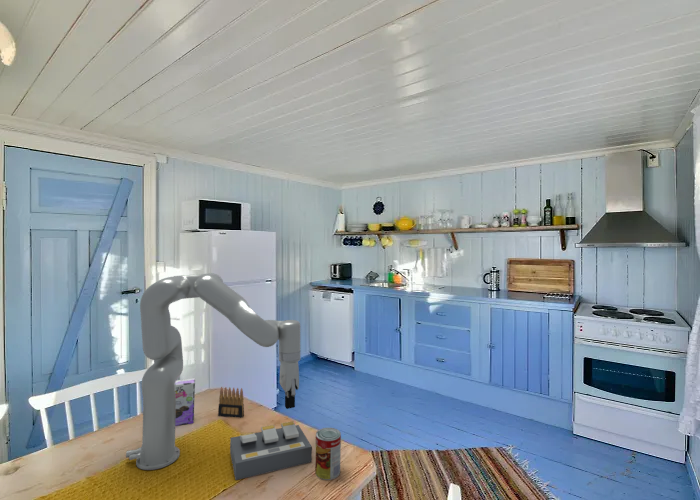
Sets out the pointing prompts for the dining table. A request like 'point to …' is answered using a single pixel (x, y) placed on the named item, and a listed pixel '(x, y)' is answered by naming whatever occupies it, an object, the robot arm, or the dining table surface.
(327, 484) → the dining table surface
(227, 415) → the ammunition clip
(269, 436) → the rocker middle
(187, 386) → the candy box
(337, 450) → the canned food
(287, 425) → the rocker right
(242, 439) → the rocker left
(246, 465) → the switch unit
